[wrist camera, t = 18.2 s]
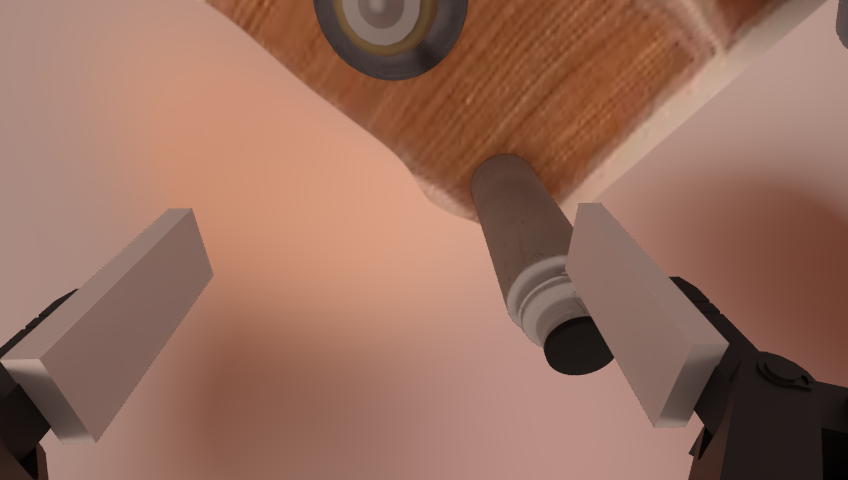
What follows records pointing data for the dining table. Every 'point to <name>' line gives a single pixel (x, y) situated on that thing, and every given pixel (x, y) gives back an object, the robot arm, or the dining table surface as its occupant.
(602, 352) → the thermos bottle
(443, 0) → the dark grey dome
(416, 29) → the squeeze bottle
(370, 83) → the dining table surface
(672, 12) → the dining table surface
